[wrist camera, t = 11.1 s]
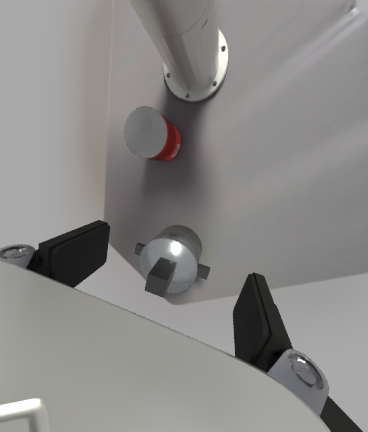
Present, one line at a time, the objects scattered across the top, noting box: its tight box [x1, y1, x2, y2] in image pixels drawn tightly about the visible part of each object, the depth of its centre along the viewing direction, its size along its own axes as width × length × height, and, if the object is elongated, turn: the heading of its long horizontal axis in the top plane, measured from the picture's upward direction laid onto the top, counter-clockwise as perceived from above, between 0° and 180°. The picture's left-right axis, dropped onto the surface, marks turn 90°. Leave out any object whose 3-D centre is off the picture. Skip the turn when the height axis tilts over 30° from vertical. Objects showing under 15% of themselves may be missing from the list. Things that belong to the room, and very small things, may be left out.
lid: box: [139, 237, 198, 297], centre depth 33 cm, size 13×13×7 cm
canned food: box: [124, 106, 181, 161], centre depth 33 cm, size 8×8×11 cm
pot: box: [135, 225, 210, 280], centre depth 40 cm, size 12×17×9 cm
